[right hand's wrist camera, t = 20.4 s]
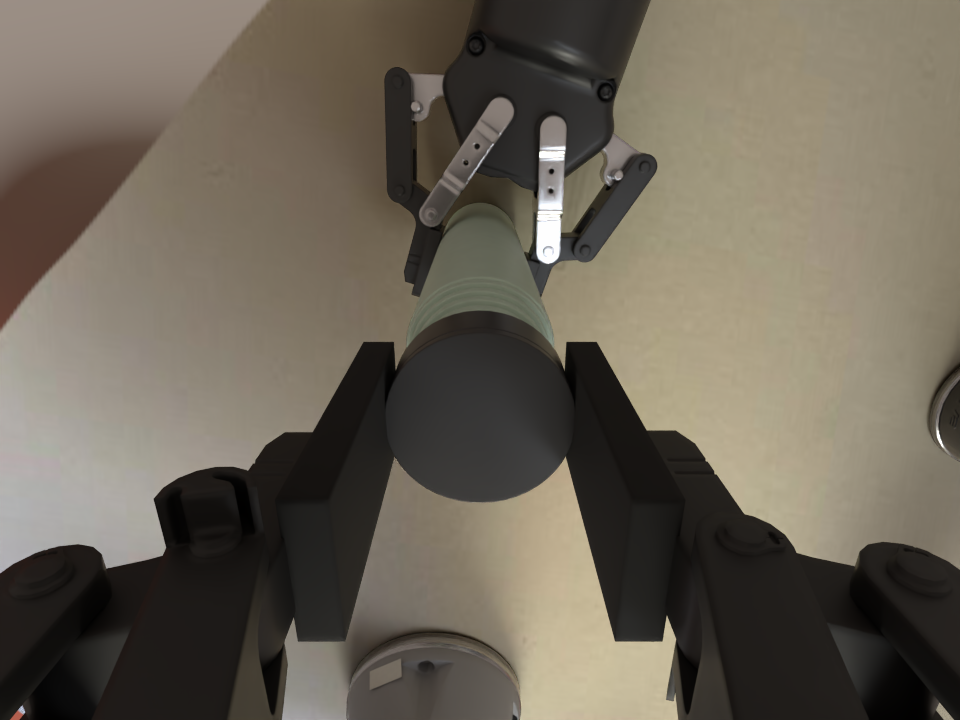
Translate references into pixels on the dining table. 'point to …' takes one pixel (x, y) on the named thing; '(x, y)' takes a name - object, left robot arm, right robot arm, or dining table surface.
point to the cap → (480, 408)
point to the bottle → (480, 273)
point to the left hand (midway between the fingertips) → (466, 305)
